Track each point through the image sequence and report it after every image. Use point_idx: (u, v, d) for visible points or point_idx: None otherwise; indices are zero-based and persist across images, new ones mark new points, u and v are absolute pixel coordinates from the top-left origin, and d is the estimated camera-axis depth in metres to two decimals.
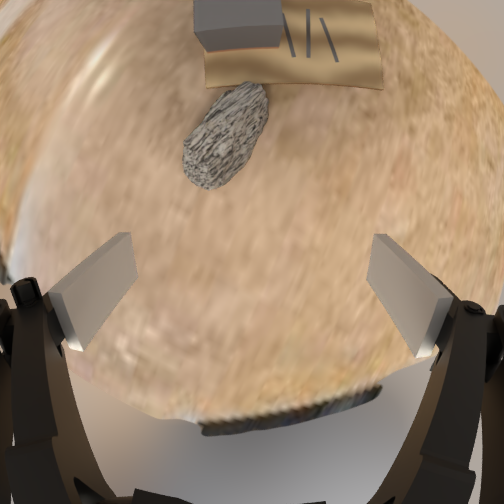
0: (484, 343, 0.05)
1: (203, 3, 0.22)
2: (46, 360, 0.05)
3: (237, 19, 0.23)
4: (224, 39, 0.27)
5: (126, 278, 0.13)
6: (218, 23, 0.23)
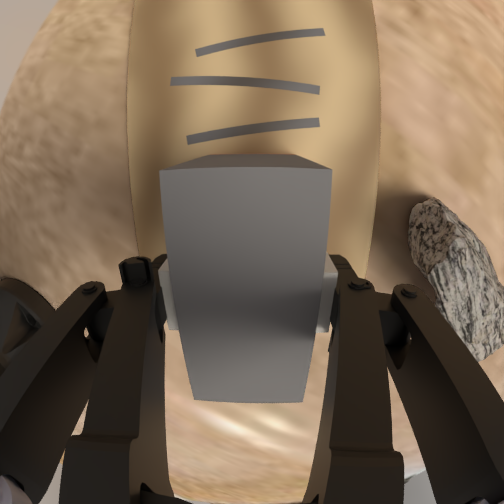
0: (377, 317, 0.07)
1: (208, 385, 0.11)
2: (145, 350, 0.06)
3: (288, 317, 0.09)
4: None
5: None
6: (292, 361, 0.10)
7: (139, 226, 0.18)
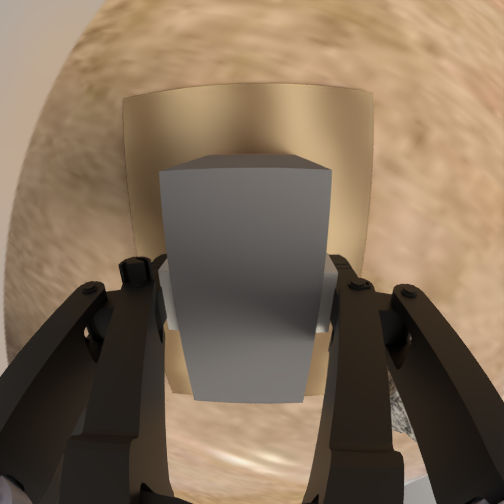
0: (377, 317, 0.07)
1: (208, 386, 0.11)
2: (145, 350, 0.06)
3: (288, 317, 0.09)
4: None
5: None
6: (293, 361, 0.10)
7: None
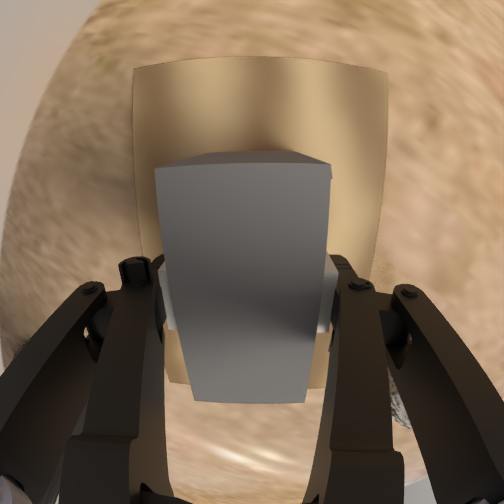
0: (377, 317, 0.07)
1: (208, 386, 0.11)
2: (145, 350, 0.06)
3: (288, 316, 0.09)
4: None
5: None
6: (293, 361, 0.10)
7: None
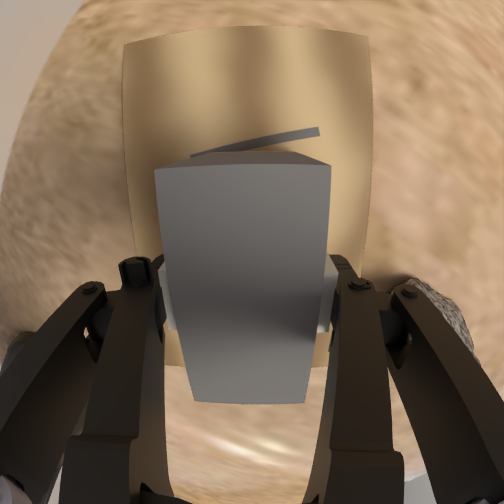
0: (377, 317, 0.07)
1: (208, 387, 0.11)
2: (145, 350, 0.06)
3: (288, 317, 0.09)
4: None
5: None
6: (293, 361, 0.10)
7: None
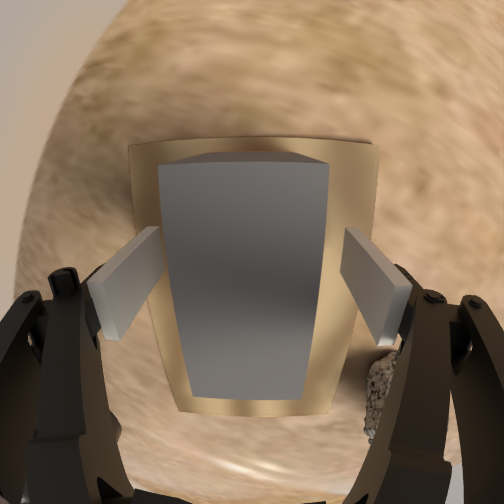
0: (447, 331, 0.06)
1: (206, 382, 0.11)
2: (80, 354, 0.06)
3: (286, 312, 0.09)
4: None
5: (155, 271, 0.14)
6: (291, 357, 0.10)
7: (170, 376, 0.23)
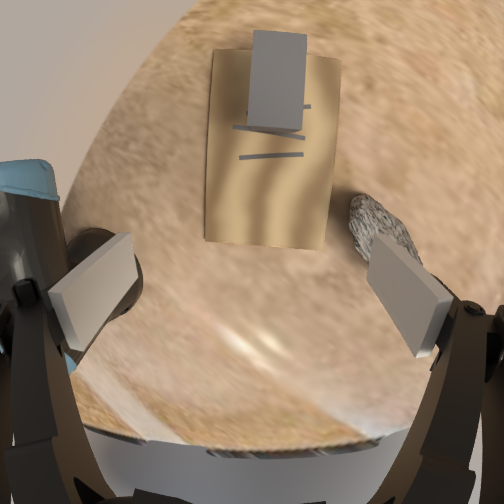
0: (484, 343, 0.05)
1: (256, 113, 0.23)
2: (46, 360, 0.05)
3: (293, 78, 0.22)
4: None
5: (126, 278, 0.13)
6: (296, 99, 0.22)
7: (208, 198, 0.36)
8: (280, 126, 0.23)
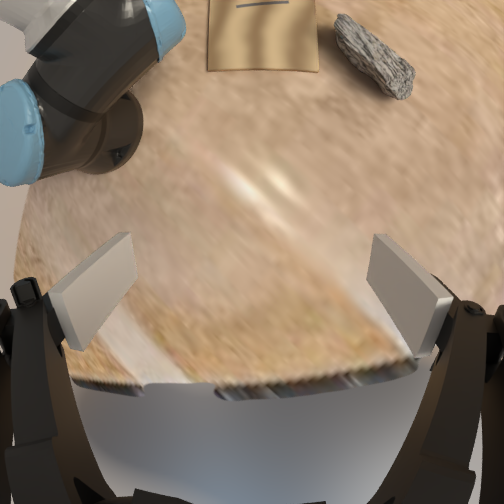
0: (484, 343, 0.05)
1: None
2: (46, 360, 0.05)
3: None
4: None
5: (126, 278, 0.13)
6: None
7: (210, 35, 0.31)
8: None
